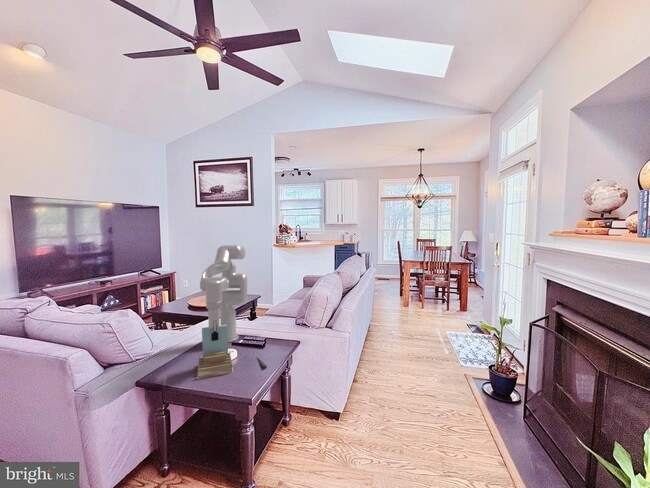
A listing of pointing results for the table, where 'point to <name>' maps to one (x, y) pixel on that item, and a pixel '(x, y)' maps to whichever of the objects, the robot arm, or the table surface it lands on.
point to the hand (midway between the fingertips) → (214, 339)
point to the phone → (261, 364)
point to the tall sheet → (216, 345)
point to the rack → (214, 368)
